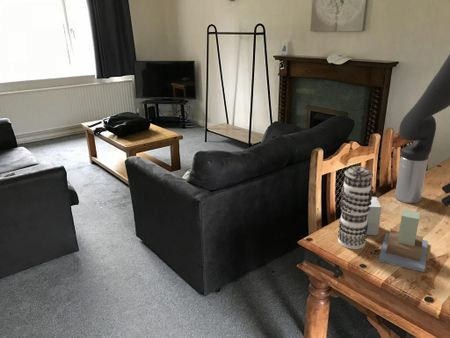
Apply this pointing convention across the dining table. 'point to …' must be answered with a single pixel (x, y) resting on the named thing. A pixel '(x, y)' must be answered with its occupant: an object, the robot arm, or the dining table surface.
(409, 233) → the sage block
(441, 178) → the dining table surface
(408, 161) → the robot arm
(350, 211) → the decorative candle
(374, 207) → the small box
